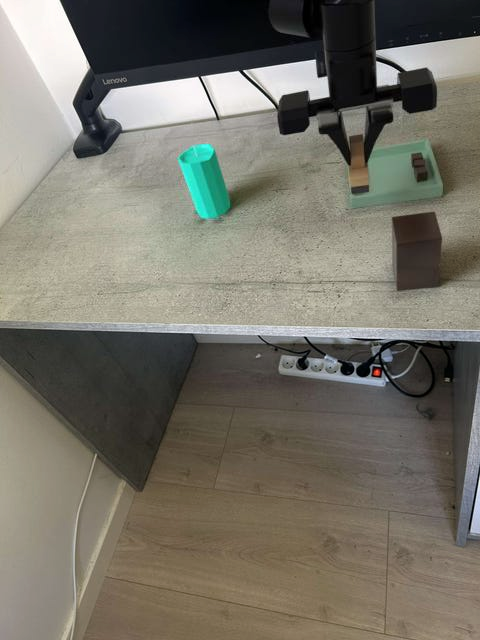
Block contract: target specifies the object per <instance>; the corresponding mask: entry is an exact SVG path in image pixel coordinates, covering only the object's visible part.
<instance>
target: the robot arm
mask: <svg viewBox="0 0 480 640" xmlns="http://www.w3.org/2000/svg"><path fill="white" fill-rule="evenodd" d="M268 6H269V7H268V9H267V11H268V13H267V14H268V18H269V21H270V24H271V26H272V27H273V29H274V30H276V31H277V32H279V33H283V34H287V35H288V34H289V35H294V36H299V37H306V38H311V39H316V38H320V37H321V36H322V41H323V49H319V50H315V51H314V57H315V69H316V78H318V79H321V78H327V87H328V96H327V97H320V98H316V99H311V95H310V91H309V90H308V89H307V90H301V91H297V92H292V93H287V94H282V95H281V97H280V98H279V100H278V105H277V113H276V117H277V126H278V130H279V135H282V136H289V135H295V134H301V133H305V132H306V131H307V129H308V128H309V127H310V124H311V122H310V118H314V117H316V121H318V128H317V129H318V133H319V135H322V136H324V135H327V136H328V138H329V139H330V140H331V141H332V142H333V143H334V145H335V146H336V147H337V149H338V150H339V152H340V154H341V156H342V157H343V159H344V161H345V163H346V165H347V164H348V166H351V155H350V143H349V138H348V135H347V131H346V126H345V121H344V116H343V112H348V111H352V110H357V109H358V110H360V109H364V108H365V122H364V123H365V125H364V135H363V139H364V159H365V163H368V161H369V158H370V155H371V153H372V150H373V148H375V145H376V142H377V141H378V138H379V136H380V135H381V133H382V132H383V129H384V128H385V126H386V125H390V124H392V123H393V122H394V112H393V107H394V103H398V102H401V109H402V110H403V111H404V112H406V113H407V114H408V115H410V114H416V113H417V114H418V113H422V112H428V111H433V110H434V109H436V108H437V106H438V105H437V104H438V102H437V101H438V86H437V82H436V80H435V78H434V74H433V72H432V70H430V68H428V67H420V68H416V69H411V70H406V71H400V72H397V75H396V83H395V84H391V85H390V84H383V85H378V72H377V69H378V68H377V41H376V38H377V37H376V17H375V16H376V15H375V12H376V11H375V10H376V9H375V0H269V5H268Z"/></svg>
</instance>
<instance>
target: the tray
mask: <svg viewBox="0 0 480 640" xmlns="http://www.w3.org/2000/svg"><path fill="white" fill-rule="evenodd" d="M419 152H422V155H423V159H425V166H426V168H427V170H428V180H427V181H422V182H417V181H416V179H415V174H414V168H412V165H411V154H413V153H419ZM346 166H347V178H348V179H349V168H348V164H347V163H346ZM368 170H369V181H370V184H369V192H365V193H358V194H351V187H350V182H349V181H348V188H349V189H348V190H349V199H350V209H351V210H353V209H360V208H367V207H374V206H375V207H376V206H383V205H388V204H396V203H403V202H411V201H419V200H425V199H432V198H440V197H443V195H444V182H443V180H442V176H441V174H440V170H439V168H438V165H437V161H436V158H435V155H434V152H433V148H432V145H431V141H430V139H429V138H426V139H421V140H420V139H419V140H414V141H408V142H402V143H396V144H390V145H384V146H378V147H373V150H372V153H371V155H370V158H369V161H368Z"/></svg>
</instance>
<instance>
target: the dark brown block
mask: <svg viewBox="0 0 480 640" xmlns="http://www.w3.org/2000/svg"><path fill="white" fill-rule="evenodd" d="M442 246H443V236H442V231H441V228H440V225H439V222H438V219H437V213H436V211H428V212H427V211H426V212H420V213H411V214H404V215H397V216H396V215H395V216H391V253H392V254H391V255H392V256H391V265H392V266H391V267H392V273H393V277H394V283H395V289H396V291H397V292H399V291H400V292H401V291H409V290H410V291H411V290H419V289H420V290H421V289H431V288H438V287H439V283H440V269H441V257H442V248H443V247H442Z"/></svg>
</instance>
